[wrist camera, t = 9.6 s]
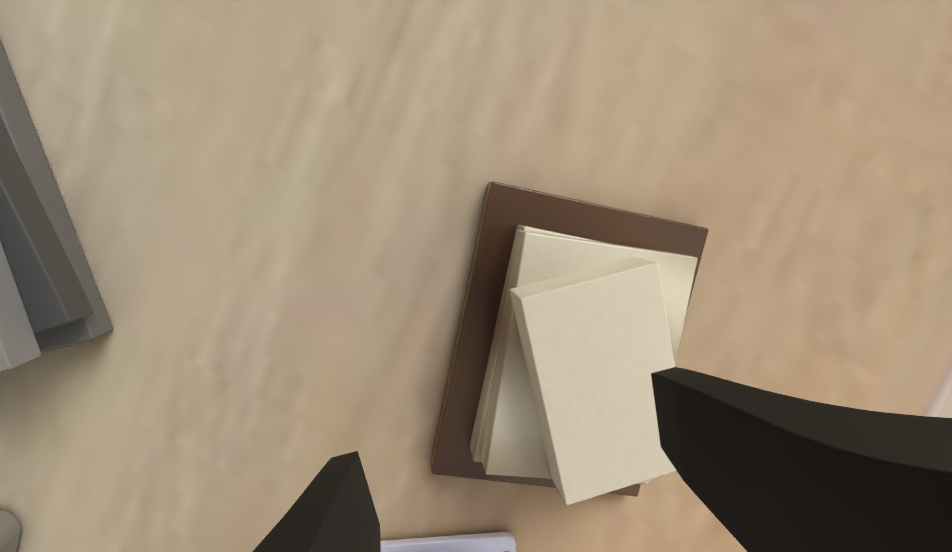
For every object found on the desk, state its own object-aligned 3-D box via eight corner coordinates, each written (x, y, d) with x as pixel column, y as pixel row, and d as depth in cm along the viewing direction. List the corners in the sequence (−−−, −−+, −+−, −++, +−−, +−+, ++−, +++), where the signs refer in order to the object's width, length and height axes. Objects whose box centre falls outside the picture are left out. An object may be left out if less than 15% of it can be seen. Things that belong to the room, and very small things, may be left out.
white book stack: (630, 487, 24) (666, 533, 21) (430, 465, 23) (434, 511, 19) (698, 227, 23) (749, 233, 19) (488, 181, 21) (504, 179, 18)
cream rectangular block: (666, 443, 20) (691, 467, 19) (551, 478, 20) (565, 506, 18) (634, 255, 19) (658, 262, 17) (508, 288, 18) (520, 299, 16)
